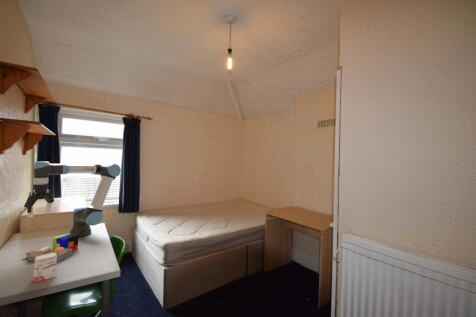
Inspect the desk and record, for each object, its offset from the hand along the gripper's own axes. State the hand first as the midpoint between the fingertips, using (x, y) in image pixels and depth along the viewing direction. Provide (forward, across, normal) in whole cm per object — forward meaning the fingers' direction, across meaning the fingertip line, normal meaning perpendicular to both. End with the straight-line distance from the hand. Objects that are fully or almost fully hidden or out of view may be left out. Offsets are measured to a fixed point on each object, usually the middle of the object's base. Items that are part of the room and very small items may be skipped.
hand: (39, 214), depth 141 cm
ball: (+22, +8, +20) cm, 31 cm away
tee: (+26, +7, +2) cm, 26 cm away
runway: (+27, +8, +14) cm, 31 cm away
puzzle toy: (+26, -4, +15) cm, 30 cm away
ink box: (+26, +32, +30) cm, 51 cm away
